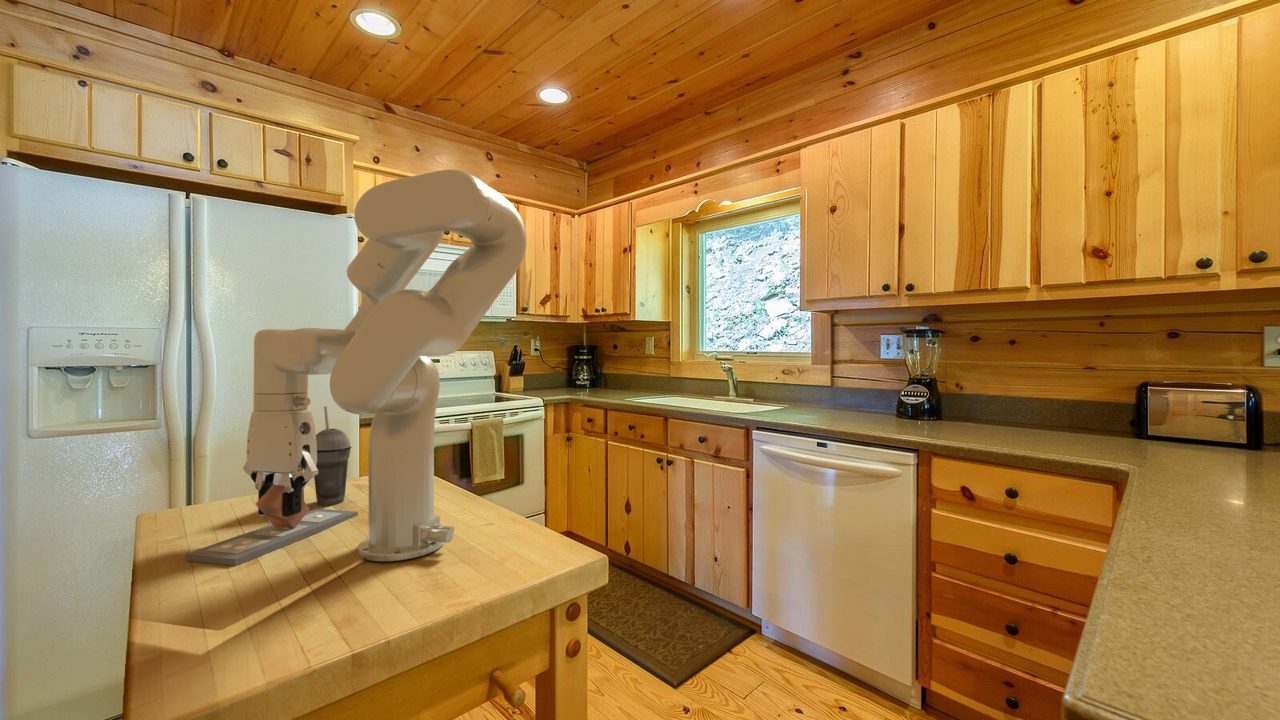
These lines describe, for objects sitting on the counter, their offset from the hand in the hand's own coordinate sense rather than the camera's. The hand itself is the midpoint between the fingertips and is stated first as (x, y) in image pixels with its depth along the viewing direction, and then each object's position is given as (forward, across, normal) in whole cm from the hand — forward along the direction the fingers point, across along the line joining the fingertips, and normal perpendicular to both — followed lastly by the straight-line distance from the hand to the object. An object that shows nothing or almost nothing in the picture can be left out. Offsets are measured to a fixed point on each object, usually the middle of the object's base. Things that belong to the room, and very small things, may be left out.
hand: (280, 512), depth 89 cm
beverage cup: (+4, +6, -17) cm, 18 cm away
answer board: (+4, 0, 0) cm, 4 cm away
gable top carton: (+4, +10, -10) cm, 15 cm away
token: (+2, 0, -2) cm, 3 cm away
